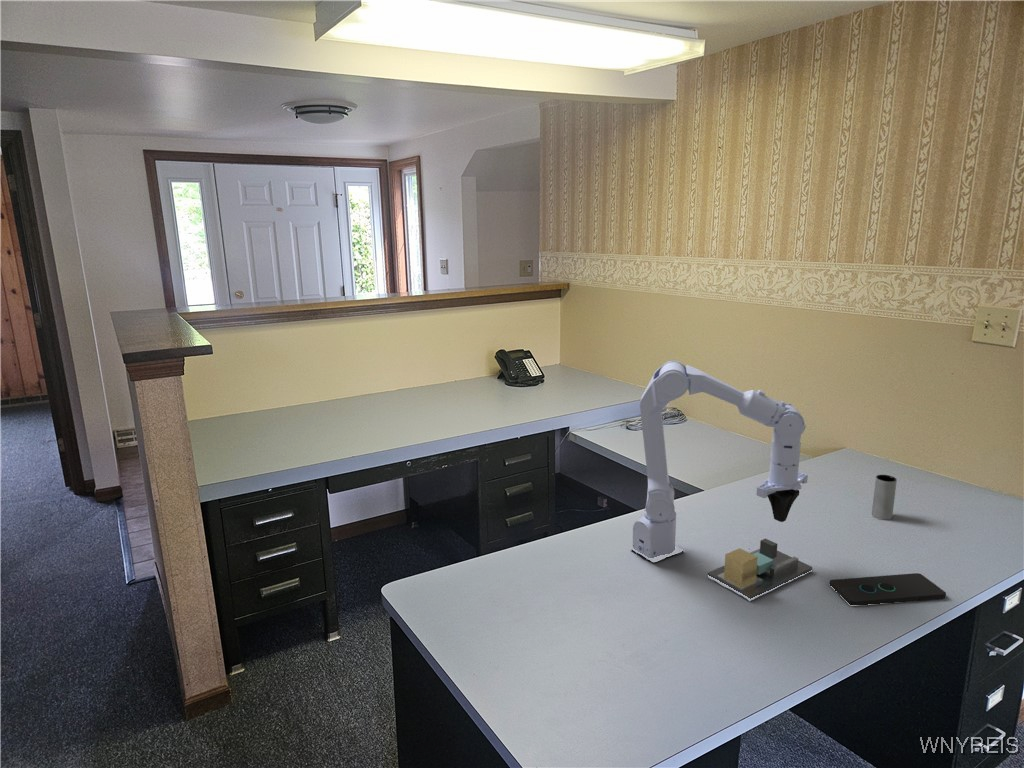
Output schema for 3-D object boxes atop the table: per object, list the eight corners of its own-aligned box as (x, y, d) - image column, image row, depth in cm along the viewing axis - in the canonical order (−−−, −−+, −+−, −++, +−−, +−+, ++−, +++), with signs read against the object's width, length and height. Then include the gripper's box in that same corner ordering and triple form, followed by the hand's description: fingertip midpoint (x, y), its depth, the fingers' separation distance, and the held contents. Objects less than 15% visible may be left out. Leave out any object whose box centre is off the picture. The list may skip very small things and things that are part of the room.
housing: (741, 585, 133) (743, 563, 131) (724, 575, 136) (725, 554, 135) (756, 578, 135) (757, 556, 134) (738, 569, 139) (739, 548, 137)
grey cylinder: (887, 512, 166) (891, 474, 164) (895, 520, 162) (900, 481, 159) (868, 512, 167) (872, 474, 164) (876, 519, 162) (880, 481, 160)
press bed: (750, 601, 130) (751, 587, 129) (707, 577, 139) (708, 564, 138) (812, 571, 140) (813, 558, 139) (768, 551, 149) (769, 538, 148)
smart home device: (827, 578, 135) (919, 571, 136) (827, 586, 135) (918, 579, 137) (851, 601, 127) (948, 593, 128) (850, 609, 127) (947, 601, 129)
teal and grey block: (759, 574, 136) (760, 553, 134) (743, 566, 139) (744, 545, 138) (777, 566, 139) (779, 544, 137) (762, 558, 142) (763, 537, 141)
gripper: (778, 474, 132) (773, 535, 135) (822, 459, 139) (816, 518, 143) (750, 464, 138) (746, 523, 141) (793, 450, 145) (788, 506, 149)
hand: (779, 519), depth 142 cm, fingers closed
